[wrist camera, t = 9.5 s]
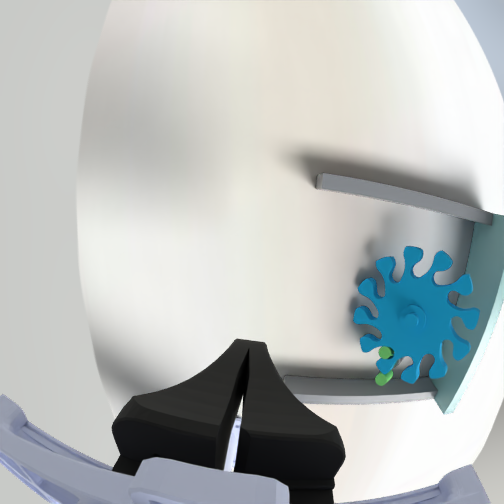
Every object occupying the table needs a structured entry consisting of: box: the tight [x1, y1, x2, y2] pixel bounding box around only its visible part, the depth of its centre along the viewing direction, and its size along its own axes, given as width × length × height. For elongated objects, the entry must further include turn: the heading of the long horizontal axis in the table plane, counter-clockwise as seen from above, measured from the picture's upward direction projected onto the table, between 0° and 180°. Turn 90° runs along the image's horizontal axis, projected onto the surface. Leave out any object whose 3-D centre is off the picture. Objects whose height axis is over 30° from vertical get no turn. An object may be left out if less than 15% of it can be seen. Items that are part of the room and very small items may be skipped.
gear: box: [353, 246, 480, 386], centre depth 18 cm, size 11×6×10 cm
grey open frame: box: [283, 173, 504, 414], centre depth 18 cm, size 18×16×5 cm
